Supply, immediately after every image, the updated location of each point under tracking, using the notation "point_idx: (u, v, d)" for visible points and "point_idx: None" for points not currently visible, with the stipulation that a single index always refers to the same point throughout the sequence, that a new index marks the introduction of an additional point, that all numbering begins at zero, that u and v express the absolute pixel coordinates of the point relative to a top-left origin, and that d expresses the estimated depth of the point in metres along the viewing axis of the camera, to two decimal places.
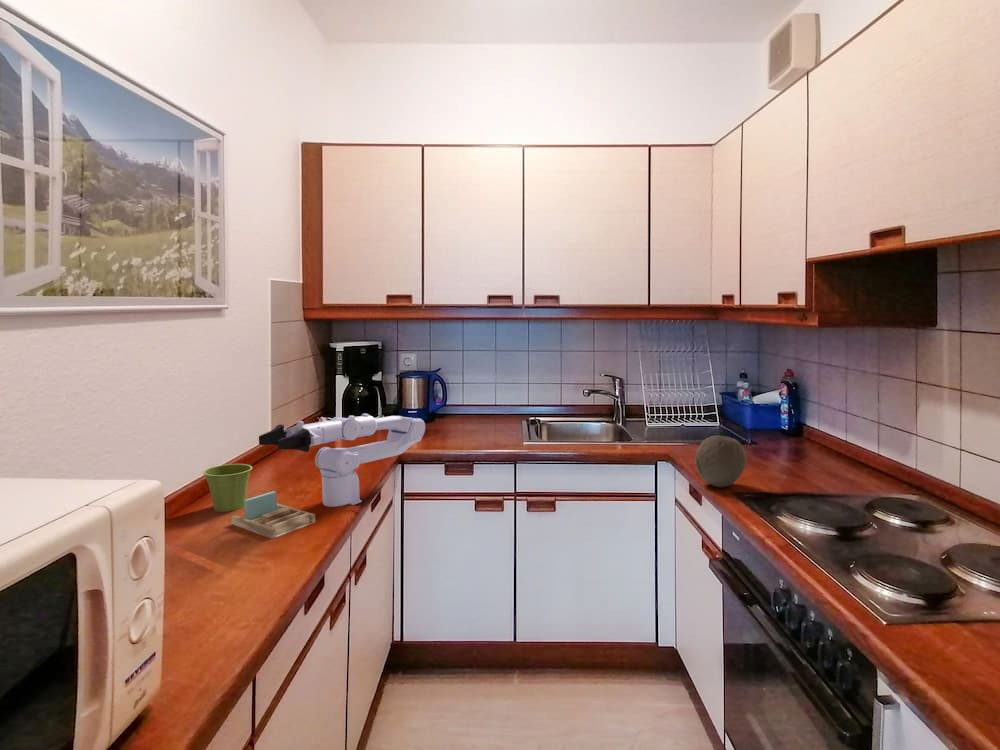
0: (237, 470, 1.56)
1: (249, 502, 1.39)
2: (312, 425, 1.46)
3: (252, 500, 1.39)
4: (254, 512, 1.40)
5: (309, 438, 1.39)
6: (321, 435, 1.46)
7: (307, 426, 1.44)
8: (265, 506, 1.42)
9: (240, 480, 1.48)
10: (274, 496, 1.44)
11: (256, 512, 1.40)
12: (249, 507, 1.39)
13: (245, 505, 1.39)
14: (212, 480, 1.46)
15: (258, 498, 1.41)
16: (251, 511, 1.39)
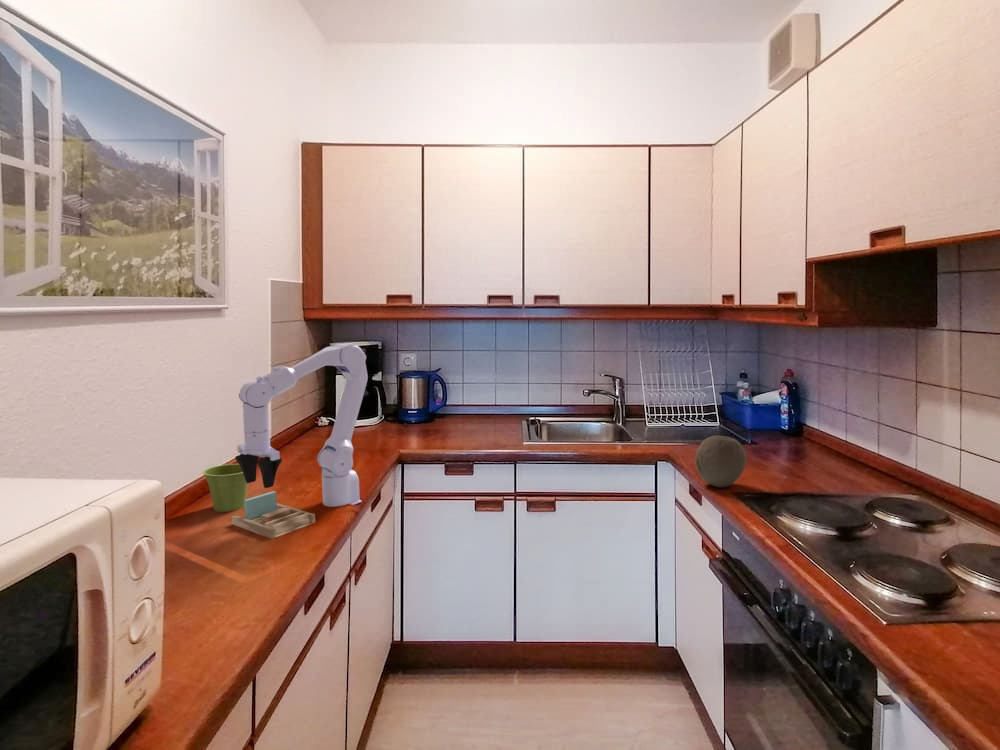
0: (237, 470, 1.56)
1: (249, 502, 1.39)
2: (250, 440, 1.37)
3: (252, 500, 1.39)
4: (254, 512, 1.40)
5: (270, 461, 1.37)
6: (263, 434, 1.38)
7: (250, 447, 1.38)
8: (265, 506, 1.42)
9: (240, 480, 1.48)
10: (274, 496, 1.44)
11: (256, 512, 1.40)
12: (249, 507, 1.39)
13: (245, 505, 1.39)
14: (212, 480, 1.46)
15: (258, 498, 1.41)
16: (251, 511, 1.39)
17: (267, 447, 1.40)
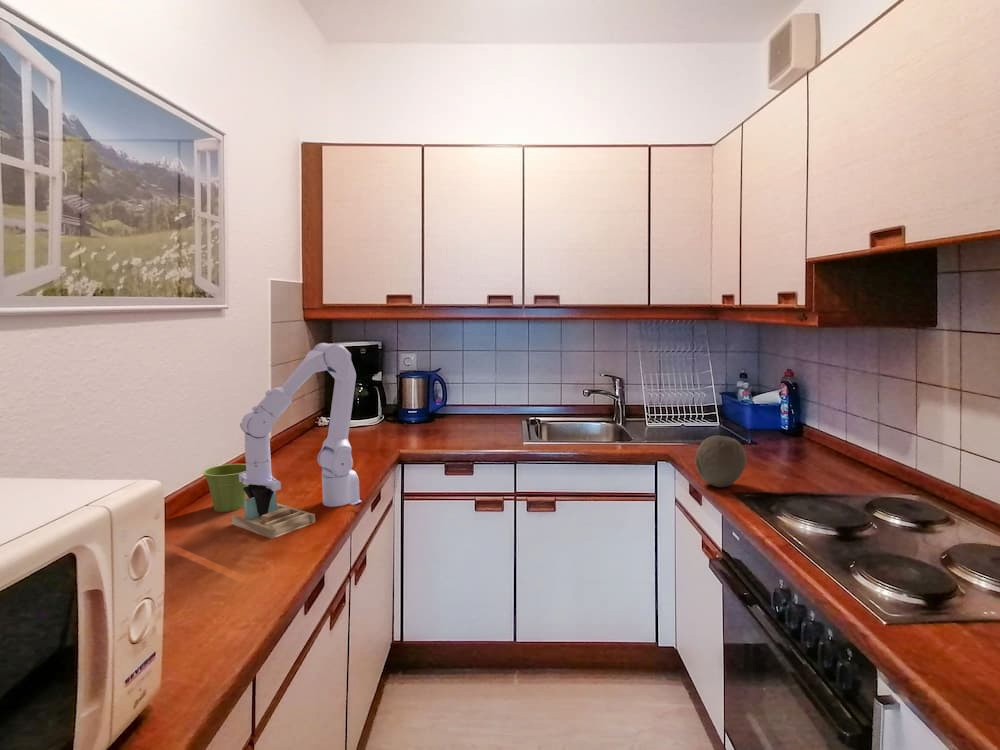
0: (237, 470, 1.56)
1: (249, 502, 1.39)
2: (251, 471, 1.38)
3: (252, 500, 1.39)
4: (254, 512, 1.40)
5: (264, 489, 1.39)
6: (265, 464, 1.39)
7: (252, 477, 1.38)
8: None
9: None
10: (274, 496, 1.44)
11: (256, 512, 1.40)
12: (249, 507, 1.39)
13: (245, 505, 1.39)
14: (212, 480, 1.46)
15: None
16: (251, 511, 1.39)
17: (268, 477, 1.40)
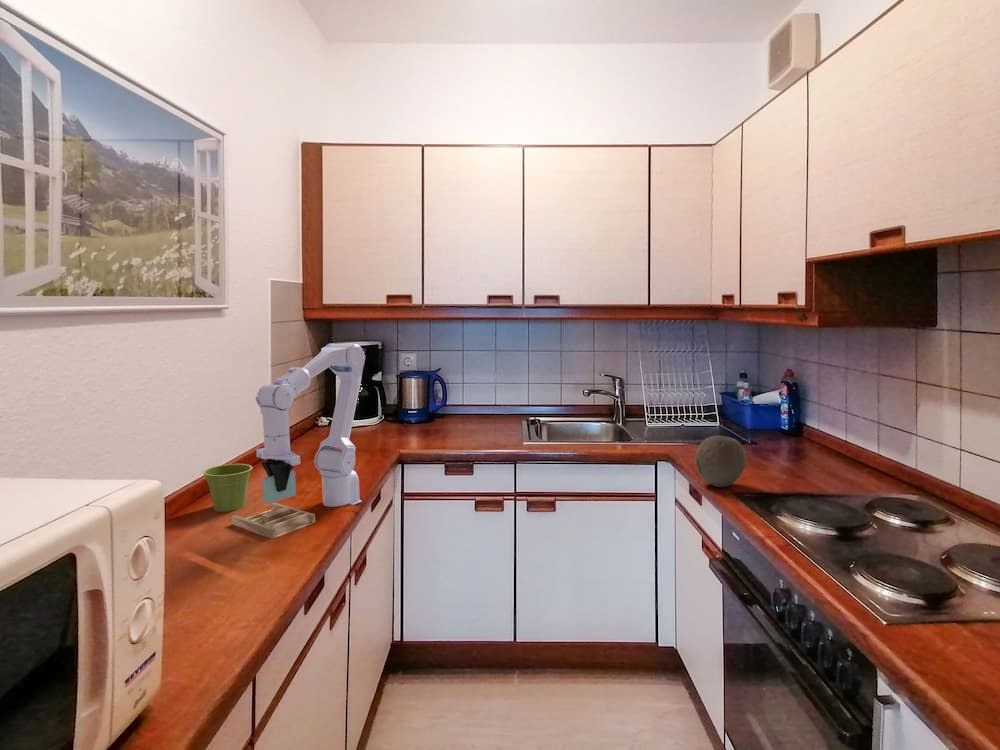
0: (237, 470, 1.56)
1: (267, 480, 1.34)
2: (270, 445, 1.33)
3: (270, 478, 1.34)
4: (273, 491, 1.35)
5: (283, 464, 1.34)
6: (284, 438, 1.34)
7: (270, 451, 1.33)
8: None
9: (240, 480, 1.49)
10: (293, 475, 1.39)
11: (274, 491, 1.35)
12: (268, 485, 1.34)
13: (263, 483, 1.34)
14: (212, 480, 1.46)
15: None
16: (270, 490, 1.34)
17: (287, 451, 1.35)
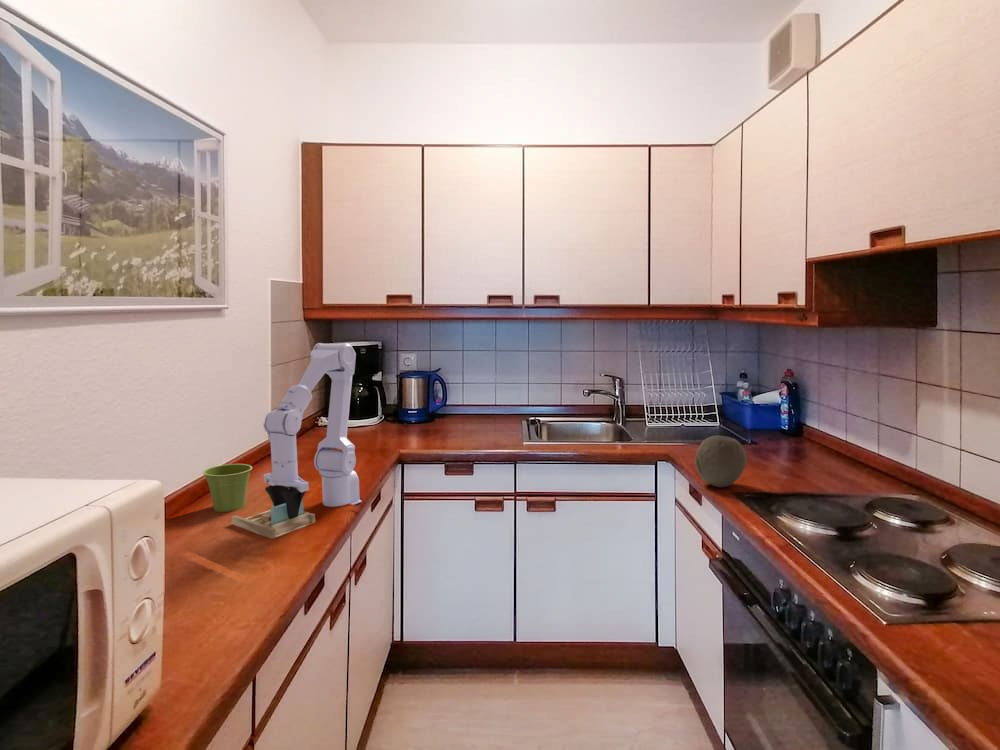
0: (237, 470, 1.56)
1: (276, 510, 1.33)
2: (278, 471, 1.32)
3: (279, 508, 1.34)
4: (281, 520, 1.34)
5: (295, 491, 1.32)
6: (292, 464, 1.33)
7: (278, 477, 1.32)
8: None
9: (240, 480, 1.48)
10: (301, 503, 1.39)
11: (283, 520, 1.35)
12: (276, 515, 1.33)
13: (272, 513, 1.33)
14: (212, 480, 1.46)
15: (285, 506, 1.35)
16: (278, 519, 1.34)
17: (295, 477, 1.34)
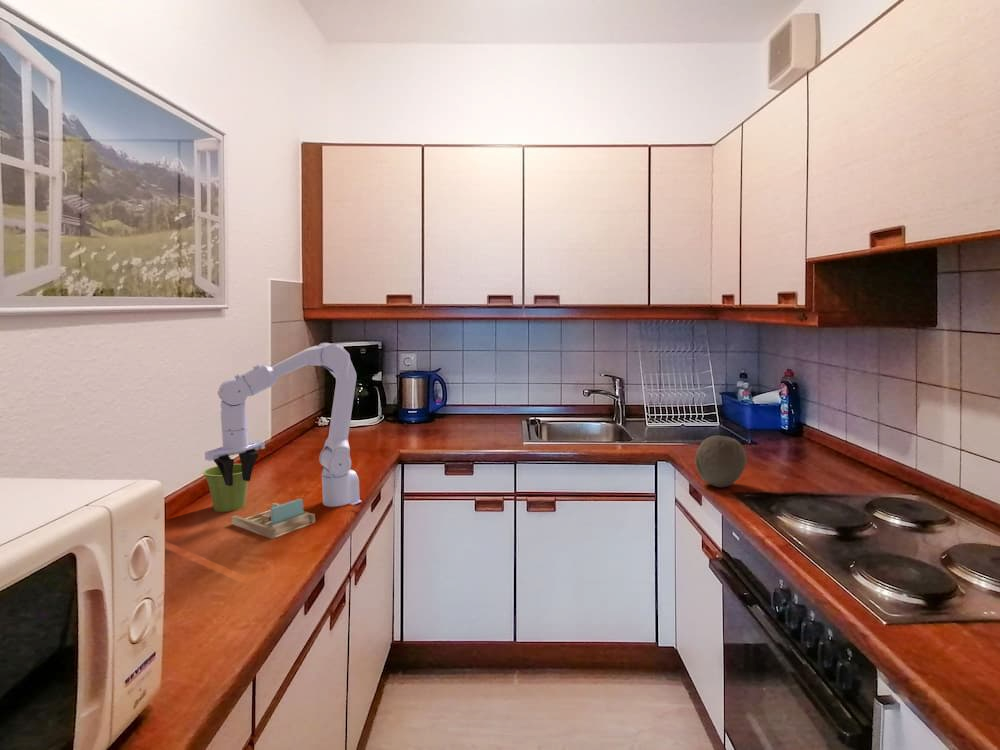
0: (237, 470, 1.56)
1: (276, 510, 1.33)
2: None
3: (279, 508, 1.34)
4: (281, 520, 1.34)
5: (216, 459, 1.37)
6: (223, 433, 1.38)
7: None
8: (292, 514, 1.37)
9: (240, 480, 1.49)
10: (301, 503, 1.39)
11: (283, 520, 1.35)
12: (276, 515, 1.33)
13: (272, 513, 1.33)
14: (212, 480, 1.46)
15: (285, 506, 1.35)
16: (278, 519, 1.34)
17: (227, 447, 1.38)
